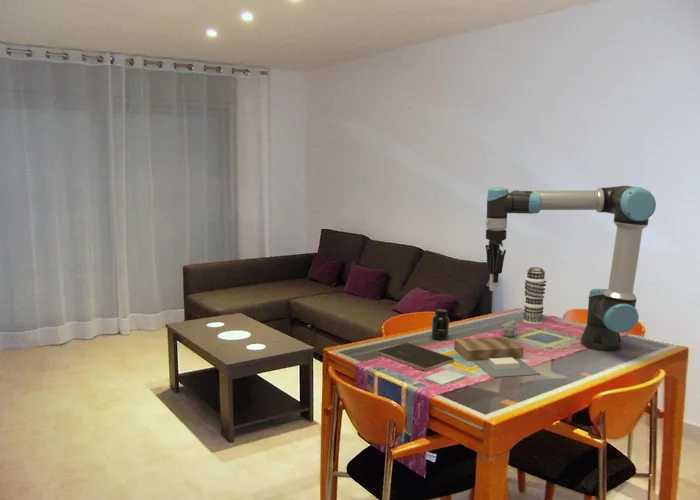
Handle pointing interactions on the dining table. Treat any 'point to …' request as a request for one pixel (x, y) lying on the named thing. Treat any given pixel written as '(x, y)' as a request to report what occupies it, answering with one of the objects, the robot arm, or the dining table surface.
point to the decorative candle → (534, 295)
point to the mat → (521, 371)
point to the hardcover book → (416, 356)
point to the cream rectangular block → (503, 363)
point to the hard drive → (444, 377)
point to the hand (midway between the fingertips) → (493, 290)
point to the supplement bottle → (440, 325)
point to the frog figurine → (510, 328)
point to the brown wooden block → (488, 348)
